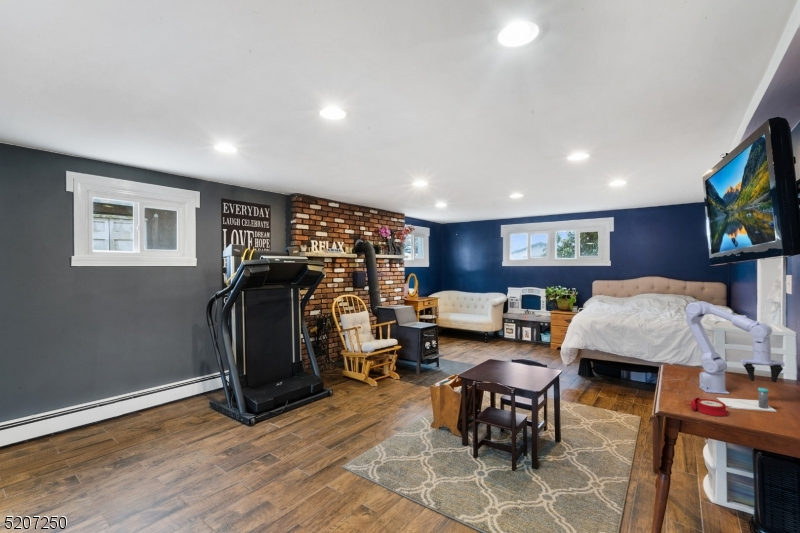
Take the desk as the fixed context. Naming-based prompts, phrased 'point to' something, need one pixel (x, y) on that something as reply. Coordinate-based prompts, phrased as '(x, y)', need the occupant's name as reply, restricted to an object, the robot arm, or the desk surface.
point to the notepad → (744, 404)
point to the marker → (763, 398)
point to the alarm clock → (709, 407)
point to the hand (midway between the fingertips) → (762, 381)
